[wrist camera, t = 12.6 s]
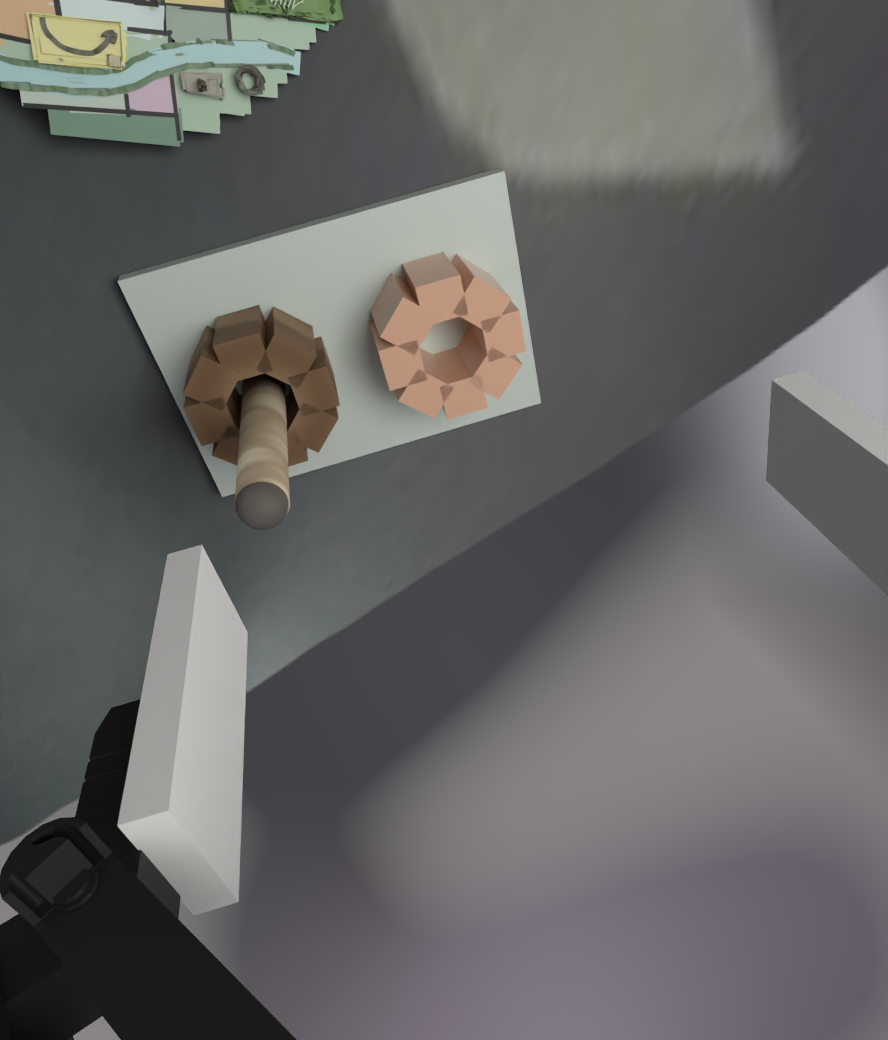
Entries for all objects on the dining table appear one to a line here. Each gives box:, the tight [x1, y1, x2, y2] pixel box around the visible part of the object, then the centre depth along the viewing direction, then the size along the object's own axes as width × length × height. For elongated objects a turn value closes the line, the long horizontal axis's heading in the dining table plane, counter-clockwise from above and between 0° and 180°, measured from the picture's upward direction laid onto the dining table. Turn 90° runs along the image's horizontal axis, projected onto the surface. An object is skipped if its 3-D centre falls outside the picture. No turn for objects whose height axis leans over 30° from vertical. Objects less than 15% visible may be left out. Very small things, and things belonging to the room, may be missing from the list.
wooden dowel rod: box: [234, 373, 290, 530], centre depth 42 cm, size 3×3×17 cm
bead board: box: [117, 168, 541, 497], centre depth 50 cm, size 24×16×1 cm, turn 103°
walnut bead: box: [183, 305, 340, 467], centre depth 47 cm, size 9×9×5 cm
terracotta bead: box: [369, 252, 526, 420], centre depth 47 cm, size 9×9×5 cm
